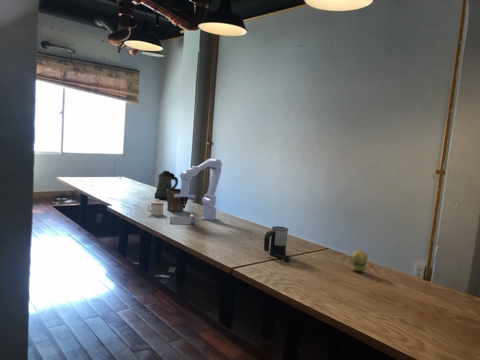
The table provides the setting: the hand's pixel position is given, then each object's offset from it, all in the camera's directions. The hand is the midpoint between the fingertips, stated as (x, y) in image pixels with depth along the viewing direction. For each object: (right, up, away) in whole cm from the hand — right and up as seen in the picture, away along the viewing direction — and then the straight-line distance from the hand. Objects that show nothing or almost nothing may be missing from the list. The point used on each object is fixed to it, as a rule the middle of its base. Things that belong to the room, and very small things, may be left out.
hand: (183, 207), depth 263 cm
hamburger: (+98, -27, -75) cm, 126 cm away
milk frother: (+60, -22, -61) cm, 88 cm away
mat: (0, -9, +2) cm, 10 cm away
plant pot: (-12, -5, +34) cm, 37 cm away
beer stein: (-29, +2, +82) cm, 87 cm away
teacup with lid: (-23, -6, +14) cm, 28 cm away
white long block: (+5, -9, +1) cm, 11 cm away
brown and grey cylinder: (+7, -11, -7) cm, 15 cm away
